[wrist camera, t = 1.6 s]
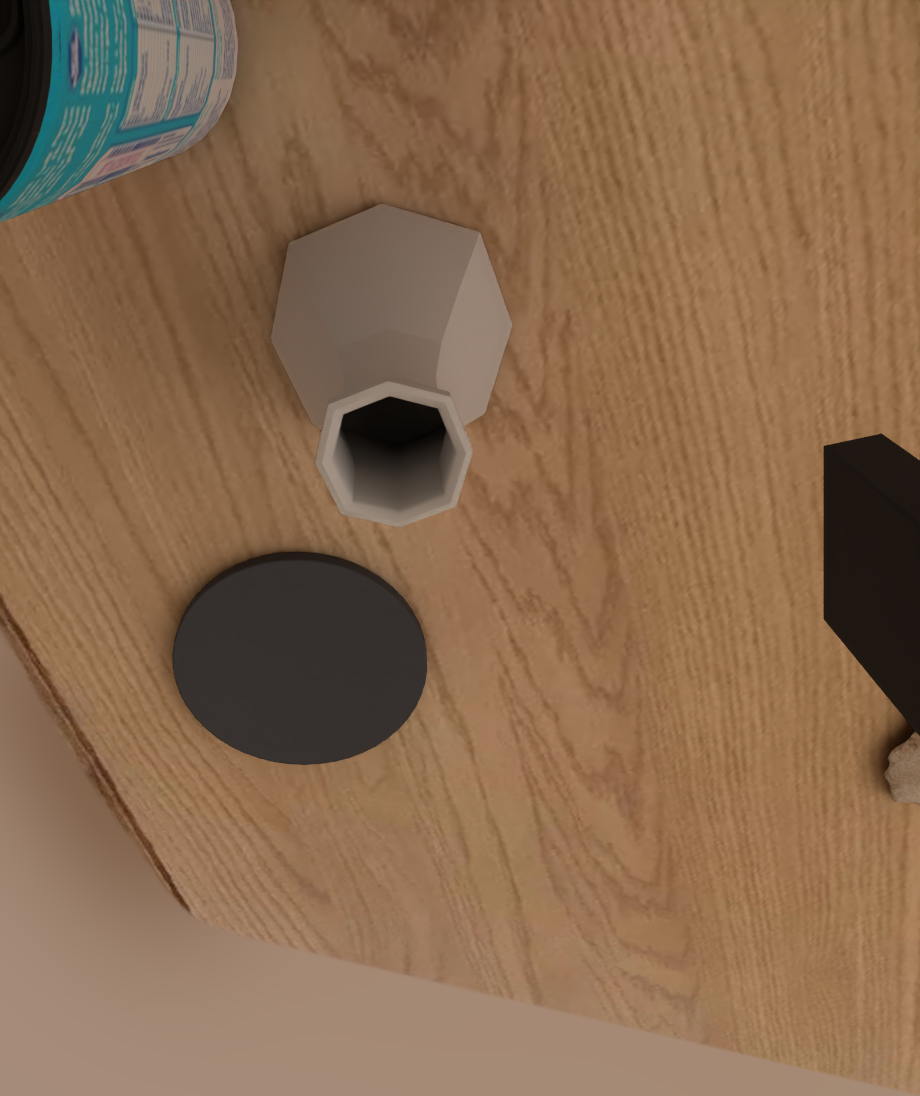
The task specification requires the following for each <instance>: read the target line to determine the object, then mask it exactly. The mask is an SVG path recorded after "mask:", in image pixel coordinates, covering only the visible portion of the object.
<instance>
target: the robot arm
mask: <svg viewBox="0 0 920 1096" xmlns="http://www.w3.org/2000/svg"><path fill="white" fill-rule="evenodd" d="M824 620H825V621H826V622H827V624H828V625H829V626H830V627H831V628H832V630H833V631H834V632H835V633H836V635H837V636H838V637H839V638H840V639H841V641H842V642H843V643H844V644H845V646H846V647H847V648H848V649H849V650H850V652H851V653H852V654H853V655H854V657H855V658H856V659H857V660H858V661H859V663H860V664H861V665H862V666H863V668H864V669H865V670H866V671H867V673H868V674H869V675H870V676H871V677H872V679H873V680H874V681H875V682H876V684H877V685H878V686H879V687H880V688H881V690H882V691H883V692H884V693H885V695H886V696H887V697H888V698H889V699H890V701H891V702H892V703H893V704H894V706H895V707H896V708H897V709H898V710H899V712H900V713H901V714H902V715H903V717H904V718H905V719H906V720H907V721H908V723H909V724H910V725H911V726H912V728H913V729H914V730H915V731H916V732H917V734H918V735H919V736H920V460H918V459H917V458H915V457H914V456H913V455H911V454H910V453H908V452H907V451H905V450H904V449H903V448H901V447H900V446H898V445H897V444H896V443H894V442H893V441H891V440H890V439H889V438H887V437H886V436H884V435H883V434H878V435H873V436H868V437H864V438H859V439H854V440H850V441H845V442H840V443H836V444H831V445H826V446H824Z"/></svg>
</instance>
